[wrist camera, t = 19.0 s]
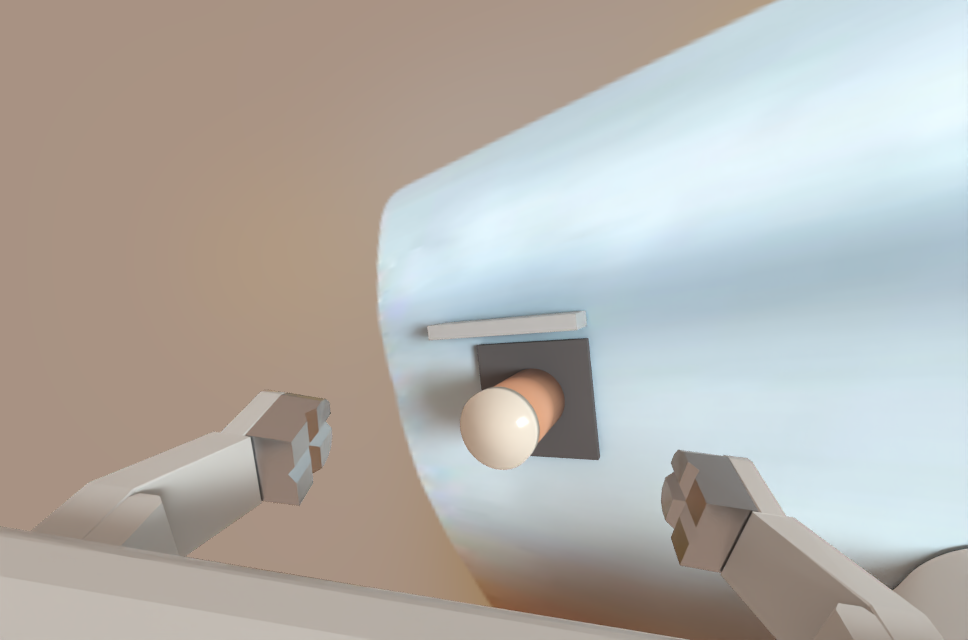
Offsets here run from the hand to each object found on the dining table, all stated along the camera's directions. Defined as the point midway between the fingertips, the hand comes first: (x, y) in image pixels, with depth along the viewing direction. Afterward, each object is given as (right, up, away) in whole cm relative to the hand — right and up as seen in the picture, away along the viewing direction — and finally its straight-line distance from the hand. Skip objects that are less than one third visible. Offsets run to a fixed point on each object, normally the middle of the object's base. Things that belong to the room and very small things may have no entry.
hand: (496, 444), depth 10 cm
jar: (+5, -5, +35) cm, 36 cm away
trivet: (+5, -5, +36) cm, 37 cm away
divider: (+3, +3, +37) cm, 37 cm away
